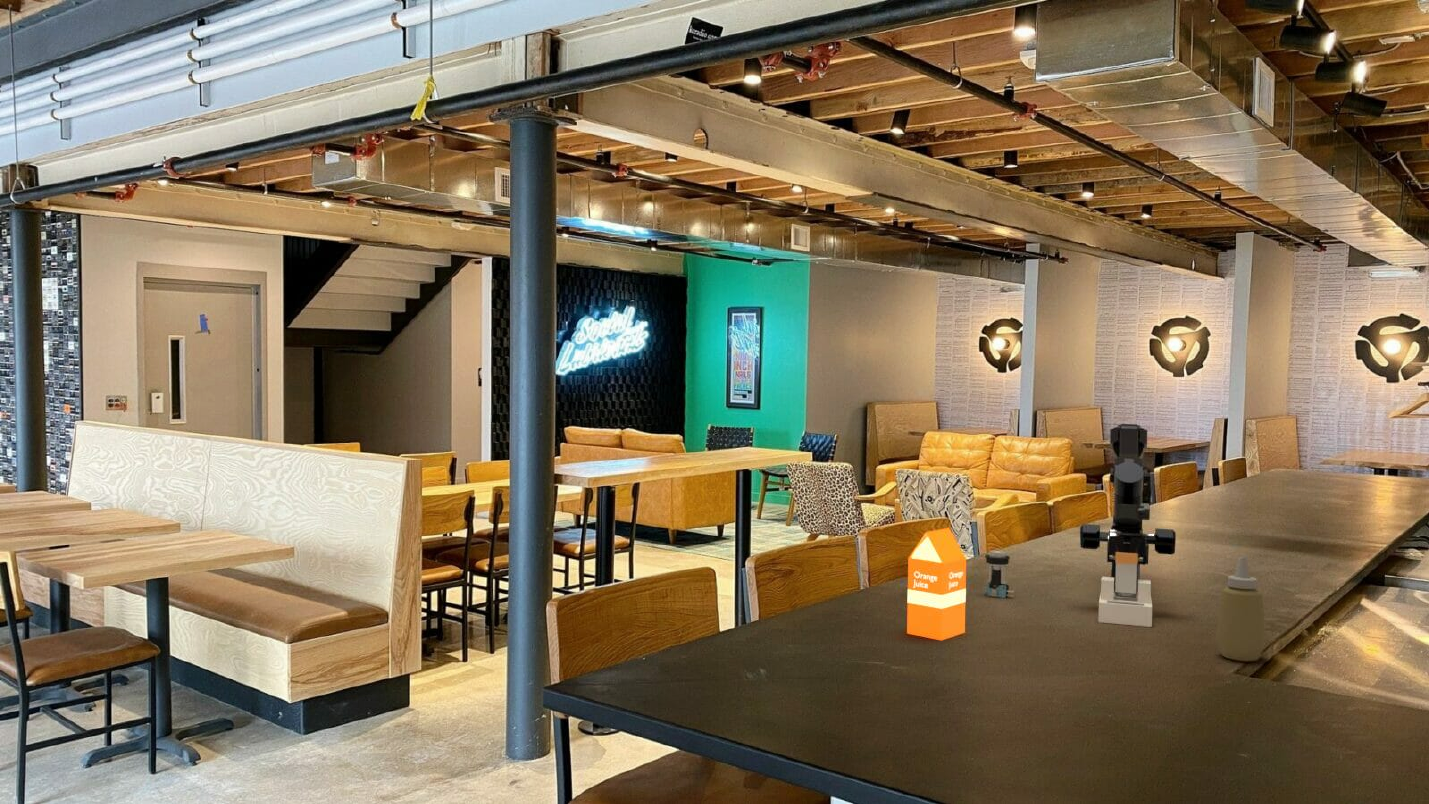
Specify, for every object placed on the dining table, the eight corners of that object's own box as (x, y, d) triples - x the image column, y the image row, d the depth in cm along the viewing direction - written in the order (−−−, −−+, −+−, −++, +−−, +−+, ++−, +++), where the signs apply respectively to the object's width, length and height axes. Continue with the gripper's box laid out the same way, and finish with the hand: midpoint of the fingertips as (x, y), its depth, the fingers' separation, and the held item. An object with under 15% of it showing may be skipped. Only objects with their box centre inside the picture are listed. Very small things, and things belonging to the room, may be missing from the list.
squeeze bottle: (1261, 654, 190) (1264, 555, 190) (1269, 666, 182) (1272, 562, 182) (1212, 650, 193) (1215, 552, 192) (1218, 661, 185) (1220, 559, 185)
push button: (1018, 596, 238) (1019, 552, 237) (1008, 600, 233) (1009, 555, 233) (991, 592, 242) (991, 549, 242) (980, 596, 238) (981, 551, 238)
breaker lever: (1114, 595, 219) (1115, 551, 219) (1136, 597, 217) (1137, 553, 218) (1114, 597, 216) (1115, 553, 217) (1136, 598, 215) (1137, 554, 215)
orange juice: (965, 632, 204) (967, 529, 203) (941, 640, 197) (943, 534, 197) (930, 625, 209) (932, 525, 208) (905, 633, 203) (907, 529, 202)
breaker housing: (1100, 611, 224) (1100, 573, 224) (1151, 615, 220) (1151, 577, 220) (1098, 622, 214) (1099, 582, 213) (1151, 627, 210) (1152, 587, 210)
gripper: (1081, 486, 225) (1077, 547, 216) (1176, 491, 218) (1177, 553, 209) (1082, 517, 233) (1078, 577, 224) (1174, 522, 226) (1174, 584, 217)
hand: (1126, 572), depth 218 cm, fingers closed, pressing on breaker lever
